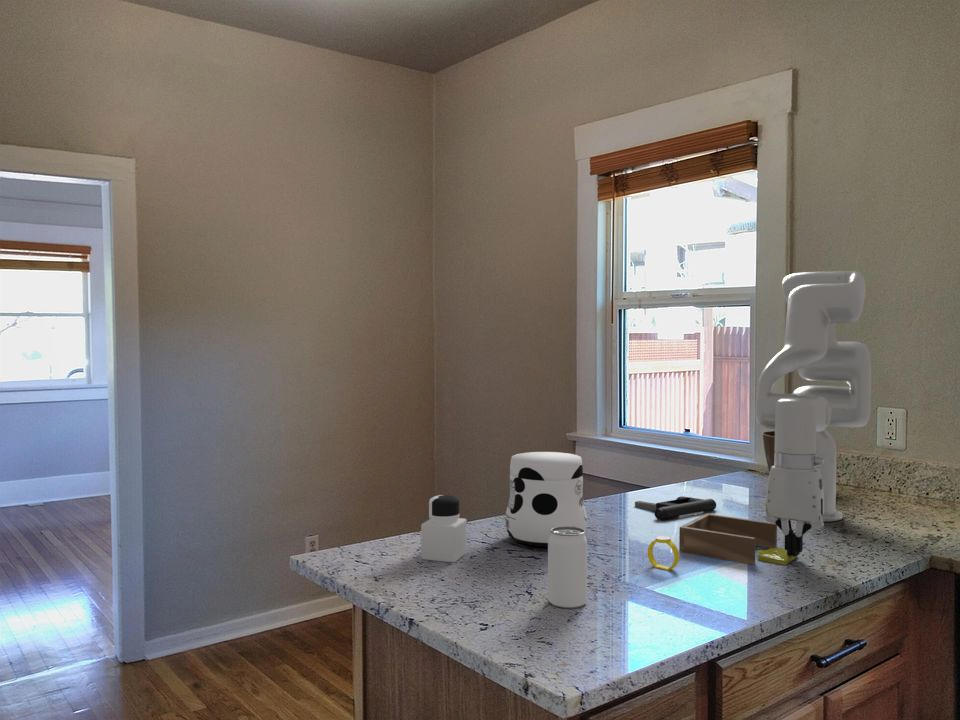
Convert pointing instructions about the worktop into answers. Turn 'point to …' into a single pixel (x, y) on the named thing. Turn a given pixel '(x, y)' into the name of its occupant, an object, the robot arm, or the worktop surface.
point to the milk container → (544, 495)
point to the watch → (676, 553)
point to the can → (567, 567)
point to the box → (726, 537)
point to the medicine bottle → (444, 531)
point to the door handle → (678, 507)
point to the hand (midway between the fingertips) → (793, 554)
